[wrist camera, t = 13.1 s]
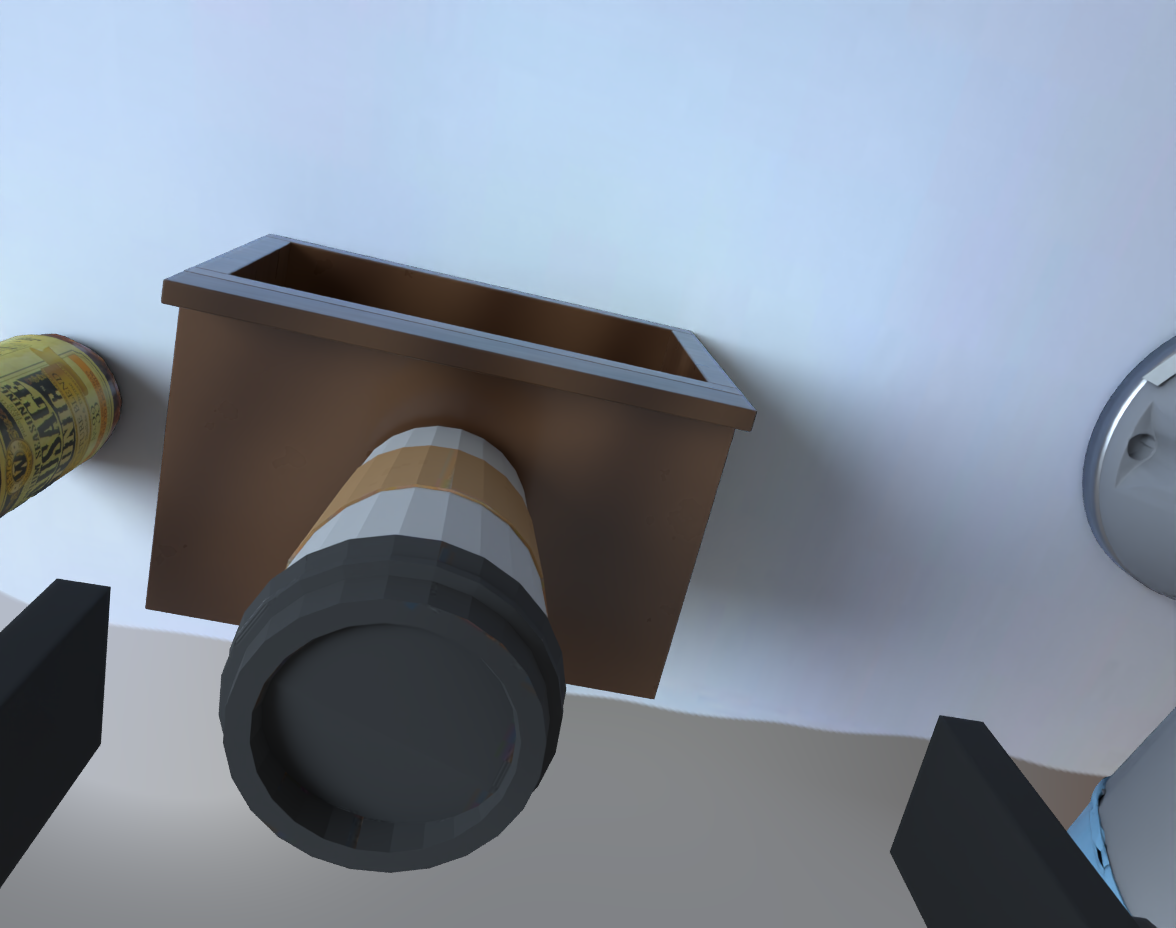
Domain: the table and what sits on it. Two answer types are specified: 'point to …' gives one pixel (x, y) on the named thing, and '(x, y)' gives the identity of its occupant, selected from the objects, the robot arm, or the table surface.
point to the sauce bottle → (50, 412)
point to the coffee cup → (400, 664)
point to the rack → (438, 398)
